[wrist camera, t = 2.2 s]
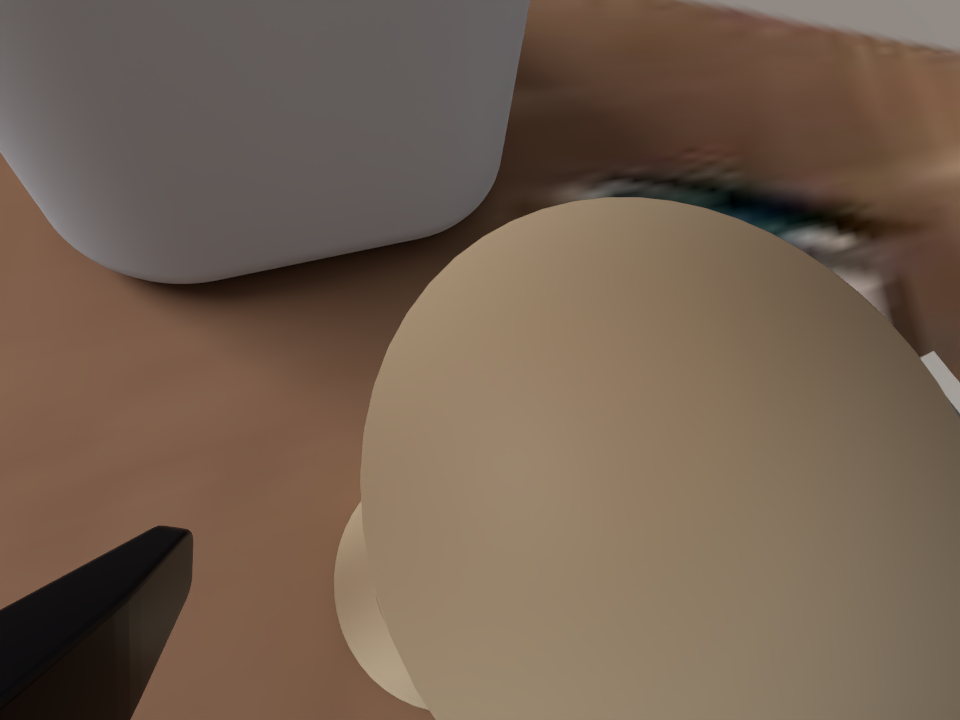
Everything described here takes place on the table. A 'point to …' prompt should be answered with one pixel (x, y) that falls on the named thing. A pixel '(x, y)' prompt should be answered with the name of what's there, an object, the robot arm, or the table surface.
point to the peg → (654, 485)
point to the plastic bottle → (253, 124)
